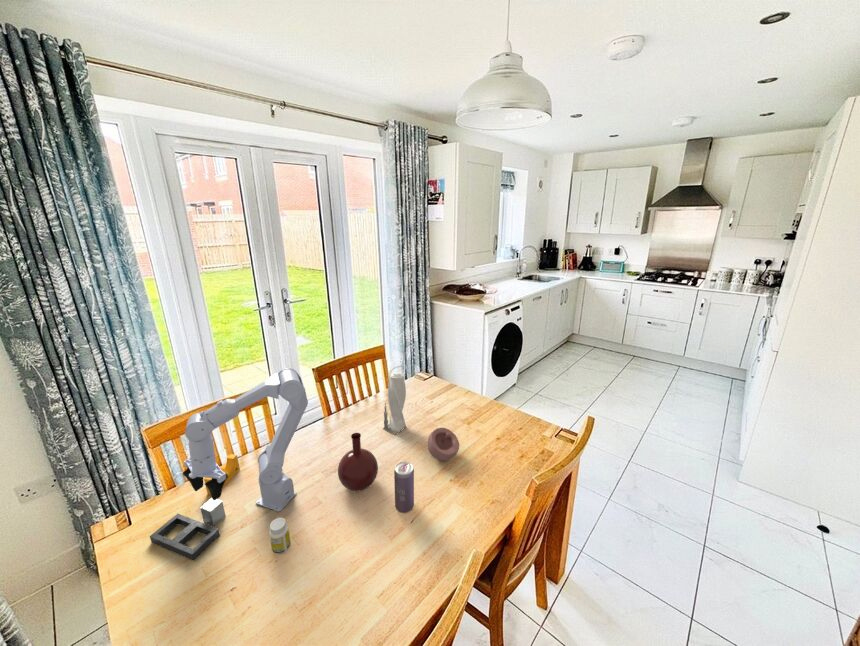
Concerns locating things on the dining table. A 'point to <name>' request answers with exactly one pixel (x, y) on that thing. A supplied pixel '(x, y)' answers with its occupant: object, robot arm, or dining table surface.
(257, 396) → the robot arm
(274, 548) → the supplement bottle
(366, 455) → the round-bottom flask
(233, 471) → the pipe clamp
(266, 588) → the dining table surface
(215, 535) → the dark grey flat frame
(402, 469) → the beverage can
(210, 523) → the block
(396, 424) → the skyscraper
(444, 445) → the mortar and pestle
